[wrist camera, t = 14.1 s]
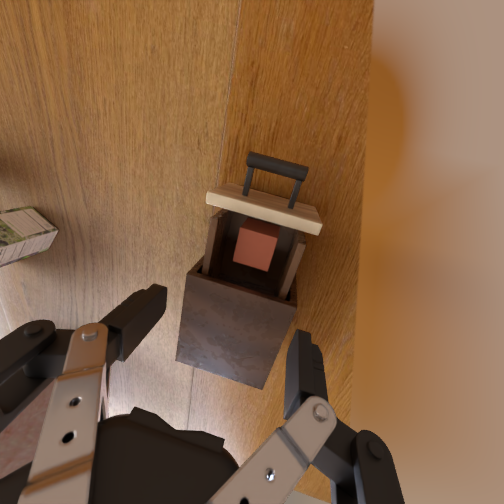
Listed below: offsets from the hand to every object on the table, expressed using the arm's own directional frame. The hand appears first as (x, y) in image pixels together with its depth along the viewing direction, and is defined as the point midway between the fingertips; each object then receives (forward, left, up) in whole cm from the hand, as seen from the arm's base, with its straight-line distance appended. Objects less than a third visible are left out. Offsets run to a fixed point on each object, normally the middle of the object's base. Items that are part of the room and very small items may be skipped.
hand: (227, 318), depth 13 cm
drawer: (0, 0, -18) cm, 18 cm away
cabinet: (+11, +6, -19) cm, 23 cm away
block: (+1, 0, -17) cm, 17 cm away
